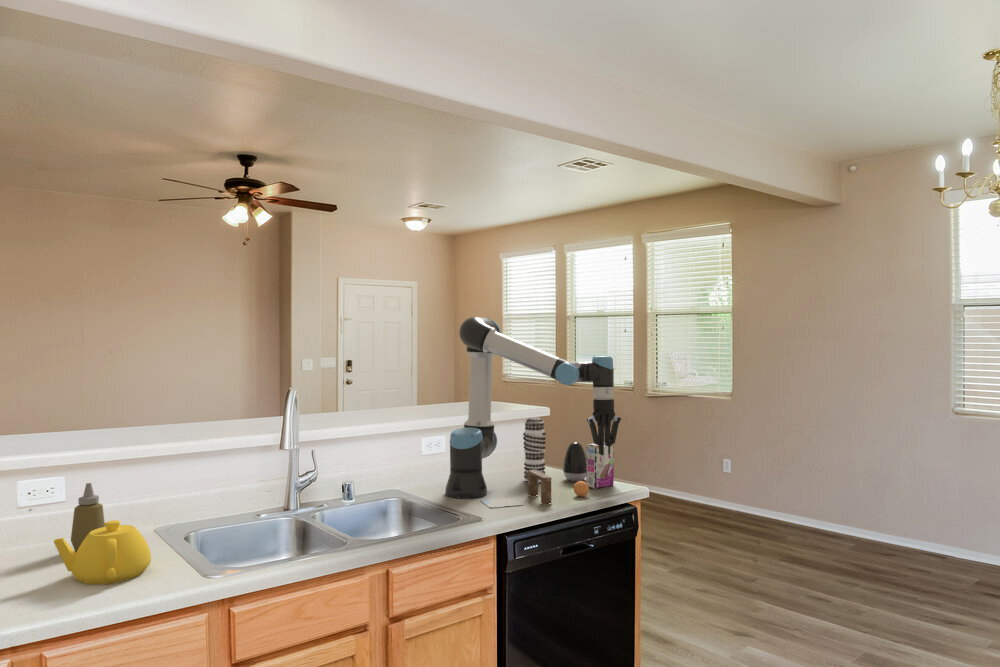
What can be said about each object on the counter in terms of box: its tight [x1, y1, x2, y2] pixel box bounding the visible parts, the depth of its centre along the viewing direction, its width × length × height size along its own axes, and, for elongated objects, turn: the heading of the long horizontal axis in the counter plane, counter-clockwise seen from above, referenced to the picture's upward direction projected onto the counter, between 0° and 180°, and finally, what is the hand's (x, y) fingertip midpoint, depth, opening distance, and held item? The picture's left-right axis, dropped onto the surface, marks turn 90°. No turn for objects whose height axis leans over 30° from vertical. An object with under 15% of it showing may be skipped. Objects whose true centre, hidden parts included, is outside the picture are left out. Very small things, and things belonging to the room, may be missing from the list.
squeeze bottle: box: [70, 482, 106, 552], centre depth 179 cm, size 8×8×18 cm
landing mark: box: [480, 498, 501, 507], centre depth 231 cm, size 12×12×1 cm
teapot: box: [53, 519, 152, 586], centre depth 159 cm, size 20×19×13 cm
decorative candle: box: [522, 416, 547, 482], centre depth 268 cm, size 9×9×25 cm
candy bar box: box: [585, 441, 615, 490], centre depth 257 cm, size 11×5×16 cm, turn 132°
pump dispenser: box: [562, 441, 587, 482], centre depth 269 cm, size 10×10×15 cm
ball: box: [573, 480, 590, 498], centre depth 240 cm, size 6×6×6 cm
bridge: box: [527, 470, 552, 505], centre depth 235 cm, size 3×14×9 cm, turn 18°
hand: (604, 463), depth 243 cm, fingers closed
